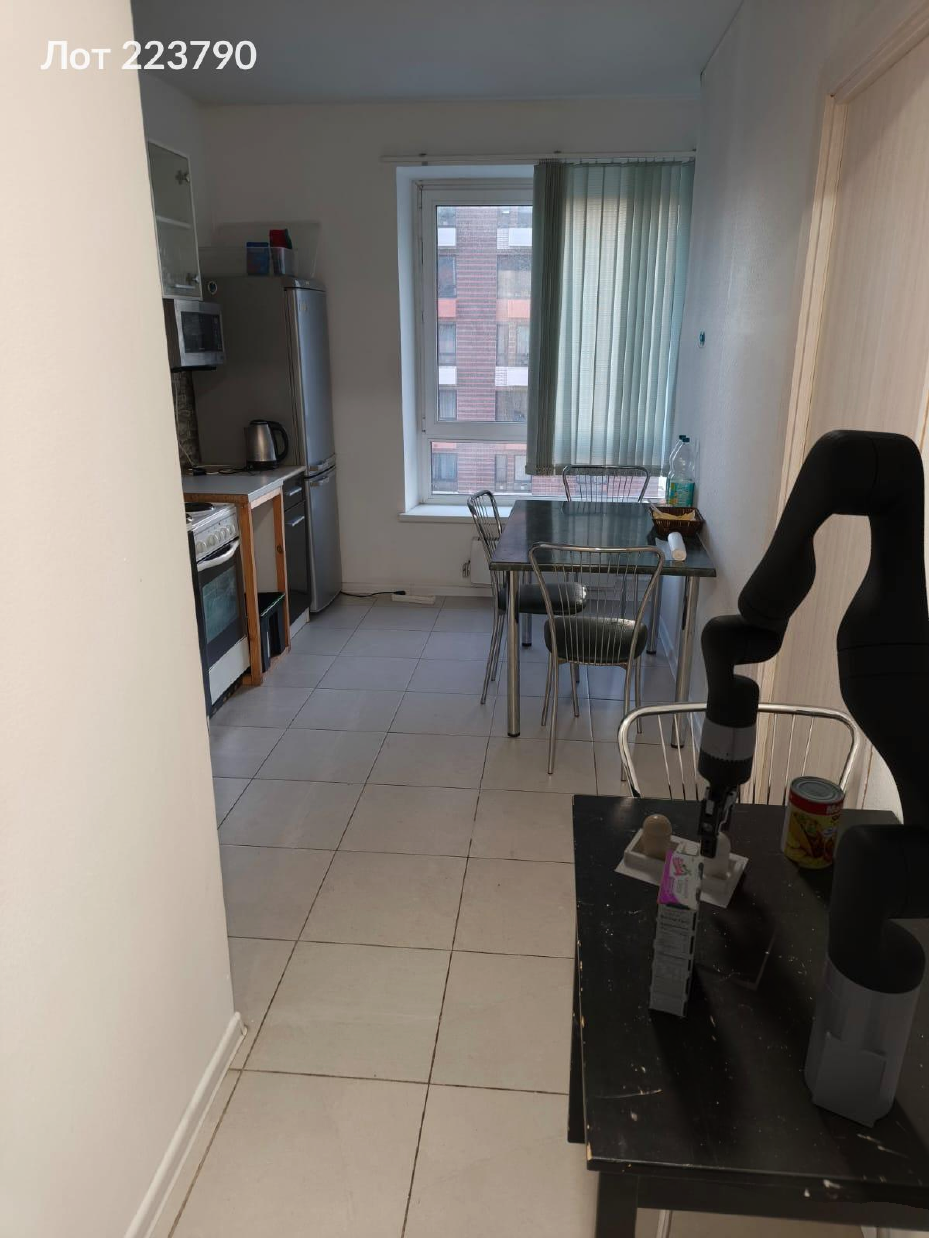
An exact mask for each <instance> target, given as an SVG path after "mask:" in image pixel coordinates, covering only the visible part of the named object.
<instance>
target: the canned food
mask: <svg viewBox="0 0 929 1238" xmlns="http://www.w3.org/2000/svg"><path fill="white" fill-rule="evenodd" d="M844 797H845V793H844V790H843V788H842V787H841V786H839V784H837V783H835V782H834V781H831V780H829V779H826V778H823V777H818V776H812V775H803V776H798V777H795V778H793V779H792V780H791V782H790V784H789V790H788V797H787V803H786V809H785V816H784V822H783V828H782V834H781V835H782V836H781V840H780V849H781V851H782V853H783V854H784V855H785V856H786V857H788V858H789V859H790V860H792V861H794V862H797V866H799V867H801V868H806V869H812V870H813V869H814V870H815V869H824V868H827V867H829V866H830V865H831V864H832V862H833V860H834V859H833V858H834V852H835V847H836V841H837V836H838V830H839V824H840V819H841V815H842V811H843V804H844Z"/></svg>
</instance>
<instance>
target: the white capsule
mask: <svg viewBox="0 0 929 1238" xmlns="http://www.w3.org/2000/svg"><path fill="white" fill-rule="evenodd" d="M719 833H720V835H719V836H718V843H717V851H716V856H715V858H714V859H711V858H707V857H704V856H702V855H701V854H700V850H699V856H701V857H704V869H703V874H704V875H707V876H711V877H714V878H717V879H720V880H725V879H726V877H727V870H728V862H729V855H730V853H731V842H730V839H729V838H728V836H727V835H726V834H725V833H724V832H721V831H720V832H719ZM699 844H700V846H701V841H700V843H699Z"/></svg>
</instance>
